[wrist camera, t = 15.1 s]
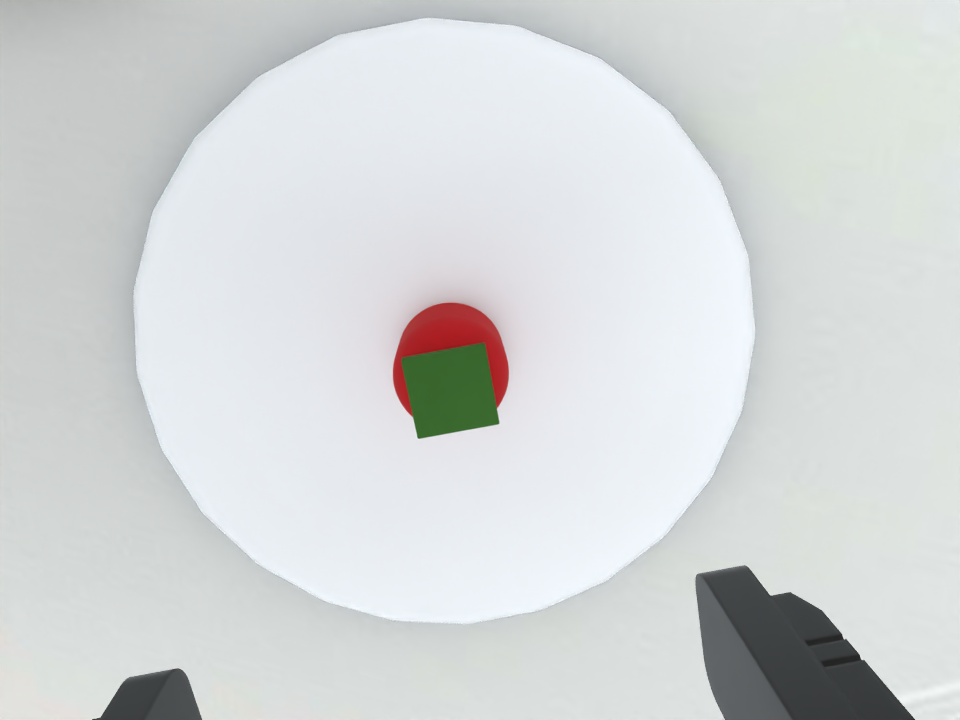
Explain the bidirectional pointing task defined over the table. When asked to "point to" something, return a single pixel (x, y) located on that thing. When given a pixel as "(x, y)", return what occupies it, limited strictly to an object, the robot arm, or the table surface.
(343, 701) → the table surface
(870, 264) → the table surface
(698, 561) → the table surface
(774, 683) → the robot arm
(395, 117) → the plate
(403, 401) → the strawberry
